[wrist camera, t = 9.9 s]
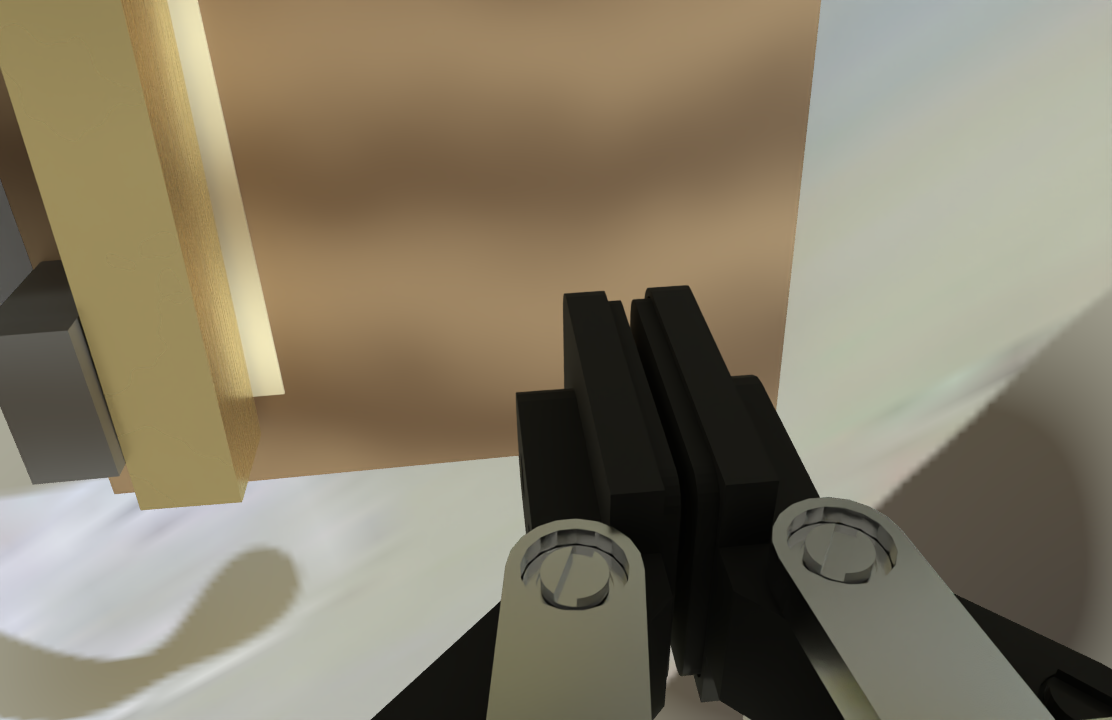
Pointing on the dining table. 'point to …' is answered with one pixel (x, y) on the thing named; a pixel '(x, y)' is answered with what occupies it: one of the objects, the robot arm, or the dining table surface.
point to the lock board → (444, 212)
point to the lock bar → (136, 237)
